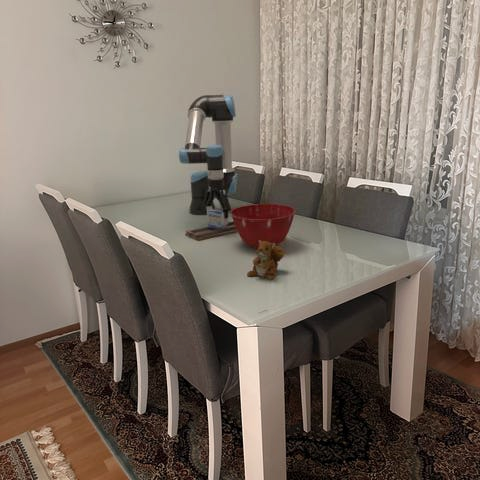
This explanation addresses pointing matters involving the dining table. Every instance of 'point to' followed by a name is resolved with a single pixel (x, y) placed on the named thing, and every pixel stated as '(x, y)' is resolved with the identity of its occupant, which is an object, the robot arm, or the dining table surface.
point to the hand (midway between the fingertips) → (217, 221)
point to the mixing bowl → (263, 223)
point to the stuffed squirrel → (266, 260)
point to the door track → (211, 232)
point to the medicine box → (215, 219)
